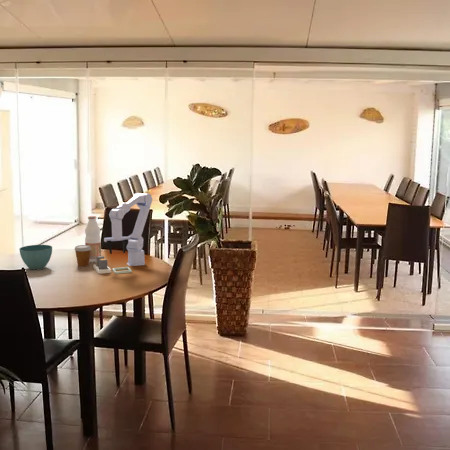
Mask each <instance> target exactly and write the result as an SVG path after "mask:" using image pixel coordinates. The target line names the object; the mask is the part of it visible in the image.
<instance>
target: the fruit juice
mask: <svg viewBox="0 0 450 450" xmlns="http://www.w3.org/2000/svg"><path fill="white" fill-rule="evenodd" d="M87 219H88V221H87V224H86V227H85V229H84V234H85V237H84V238H85V239H84V242H85V243H84V245H89V246H90V248H91V250H90V258H89V263H96V256H102V240H101V239H102V238H101V229H100V227H99V224H98V223H97V215H96V216H95V215H91V216H90V215H89V216H87Z"/></svg>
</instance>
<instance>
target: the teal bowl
mask: <svg viewBox="0 0 450 450" xmlns="http://www.w3.org/2000/svg"><path fill="white" fill-rule="evenodd" d="M52 254H53V246H52V245H50V244H49V245H48V244H31V245H25V246H22V247H20V248H19V255H20V258H21V259H22V262H23V263H24V265H25V266H26V267H27V268H28V269H29V270H32V269H39V270H43V269H45V268H46V267H47V266H48V264H49V262H50V261H51V257H52Z"/></svg>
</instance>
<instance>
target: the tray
mask: <svg viewBox="0 0 450 450" xmlns="http://www.w3.org/2000/svg"><path fill="white" fill-rule="evenodd" d="M111 271H112V272H113V273H114V274H116V275H117V274H118V275H119V274H128V273H133V271H132V269H131V268H130V266H123V267H114V268H111Z"/></svg>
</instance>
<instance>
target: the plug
mask: <svg viewBox="0 0 450 450" xmlns="http://www.w3.org/2000/svg"><path fill="white" fill-rule="evenodd" d="M107 266H108V259H107V258H105V259H99V270H101V269H108V267H109V266H108V267H107Z"/></svg>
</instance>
